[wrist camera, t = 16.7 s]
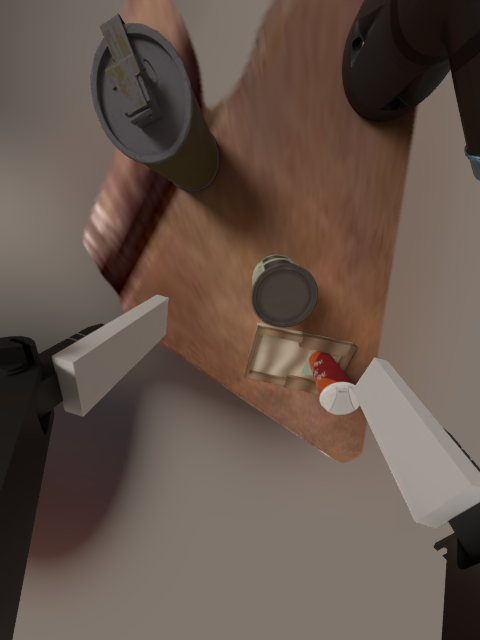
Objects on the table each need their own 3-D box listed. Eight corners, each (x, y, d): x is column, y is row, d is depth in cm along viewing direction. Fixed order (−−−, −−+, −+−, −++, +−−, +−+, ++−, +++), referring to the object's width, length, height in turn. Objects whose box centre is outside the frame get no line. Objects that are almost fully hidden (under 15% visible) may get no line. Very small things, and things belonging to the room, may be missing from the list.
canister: (227, 178, 37) (202, 126, 19) (177, 200, 39) (111, 173, 21) (204, 104, 33) (144, -54, 15) (150, 133, 35) (37, 24, 17)
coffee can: (282, 243, 41) (295, 248, 28) (307, 283, 44) (330, 304, 31) (242, 273, 44) (237, 291, 31) (268, 309, 47) (274, 338, 34)
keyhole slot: (243, 373, 55) (243, 378, 53) (258, 322, 48) (258, 325, 46) (328, 391, 55) (330, 396, 54) (353, 342, 49) (357, 347, 47)
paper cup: (303, 348, 50) (321, 388, 37) (336, 344, 49) (365, 385, 36) (305, 373, 53) (321, 418, 40) (335, 370, 52) (362, 416, 39)
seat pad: (300, 372, 53) (300, 373, 53) (310, 351, 50) (310, 351, 50) (326, 378, 53) (326, 378, 53) (336, 356, 50) (337, 357, 50)
